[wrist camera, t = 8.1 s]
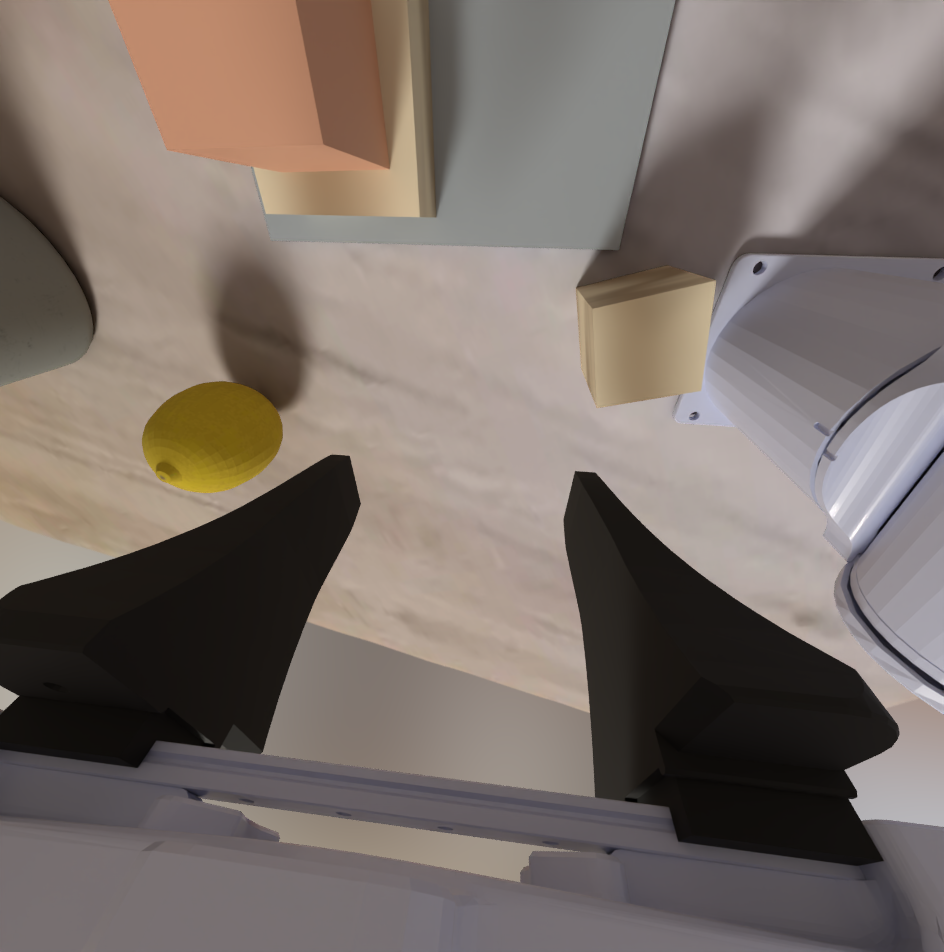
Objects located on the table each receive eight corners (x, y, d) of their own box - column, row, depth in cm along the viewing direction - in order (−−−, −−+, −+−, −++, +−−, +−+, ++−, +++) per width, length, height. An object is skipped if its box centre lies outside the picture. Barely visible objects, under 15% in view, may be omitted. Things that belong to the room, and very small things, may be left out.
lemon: (203, 366, 21) (68, 429, 15) (283, 358, 20) (175, 421, 14) (248, 443, 25) (152, 521, 18) (319, 439, 24) (244, 520, 17)
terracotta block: (368, -22, 10) (257, -195, 6) (390, 169, 12) (323, 144, 8) (235, -12, 10) (44, -164, 6) (282, 172, 12) (167, 149, 8)
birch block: (667, 265, 16) (716, 280, 12) (661, 352, 18) (700, 390, 14) (575, 287, 17) (592, 308, 13) (581, 368, 19) (596, 407, 15)
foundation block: (428, -8, 11) (403, -68, 9) (436, 217, 15) (419, 217, 13) (258, -2, 12) (192, -57, 10) (305, 214, 16) (265, 214, 13)
